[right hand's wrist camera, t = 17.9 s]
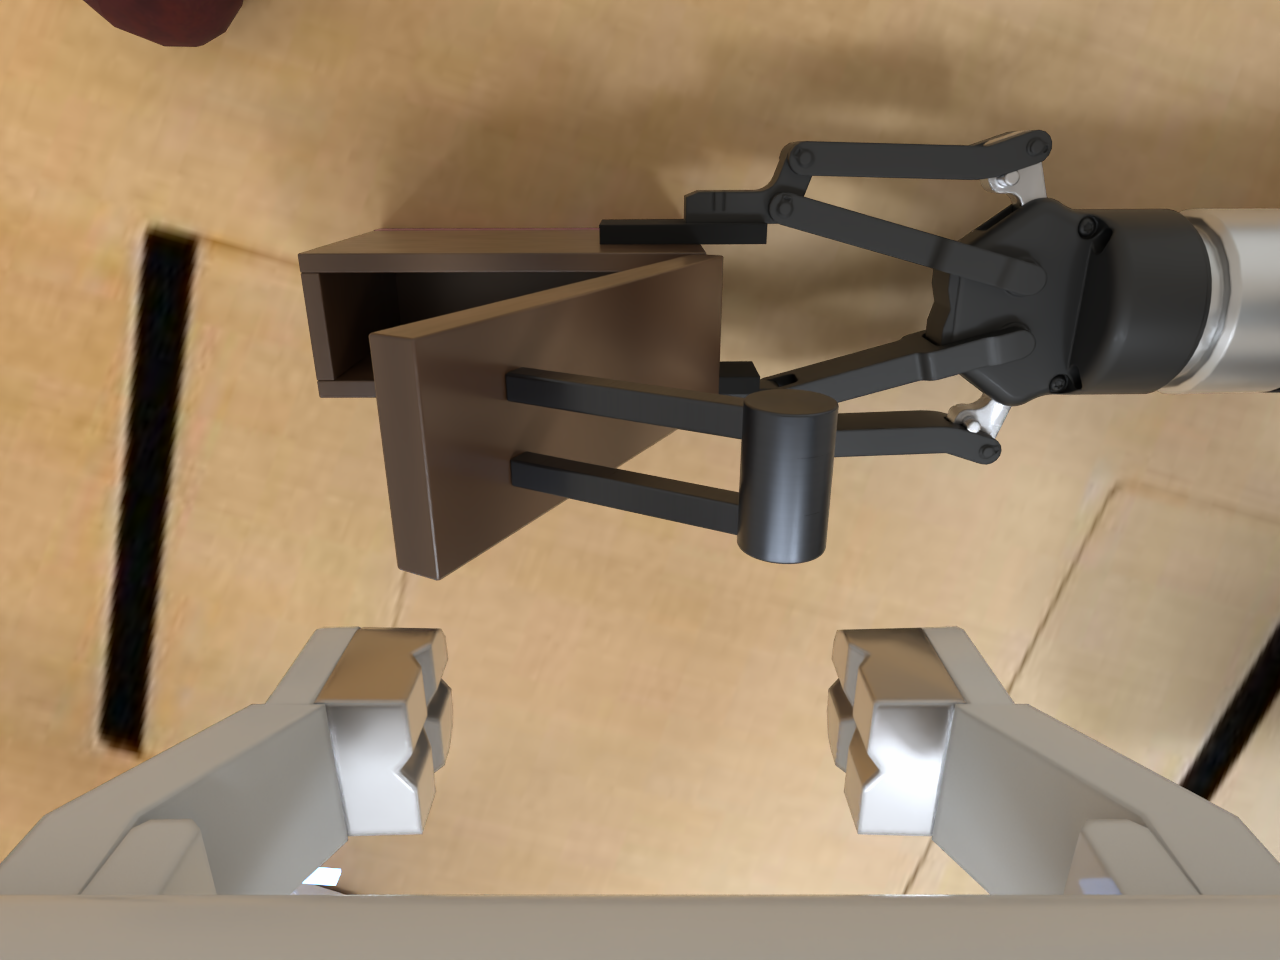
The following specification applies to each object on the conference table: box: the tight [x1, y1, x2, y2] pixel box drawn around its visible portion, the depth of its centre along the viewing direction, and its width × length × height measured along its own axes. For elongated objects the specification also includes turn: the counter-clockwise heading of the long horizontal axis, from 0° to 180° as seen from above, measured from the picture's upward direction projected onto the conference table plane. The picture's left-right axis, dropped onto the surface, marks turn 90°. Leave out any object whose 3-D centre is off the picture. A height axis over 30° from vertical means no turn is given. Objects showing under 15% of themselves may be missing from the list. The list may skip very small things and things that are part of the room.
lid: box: [369, 254, 839, 580], centre depth 22 cm, size 15×5×9 cm
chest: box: [298, 228, 706, 398], centre depth 35 cm, size 15×5×10 cm, turn 90°
